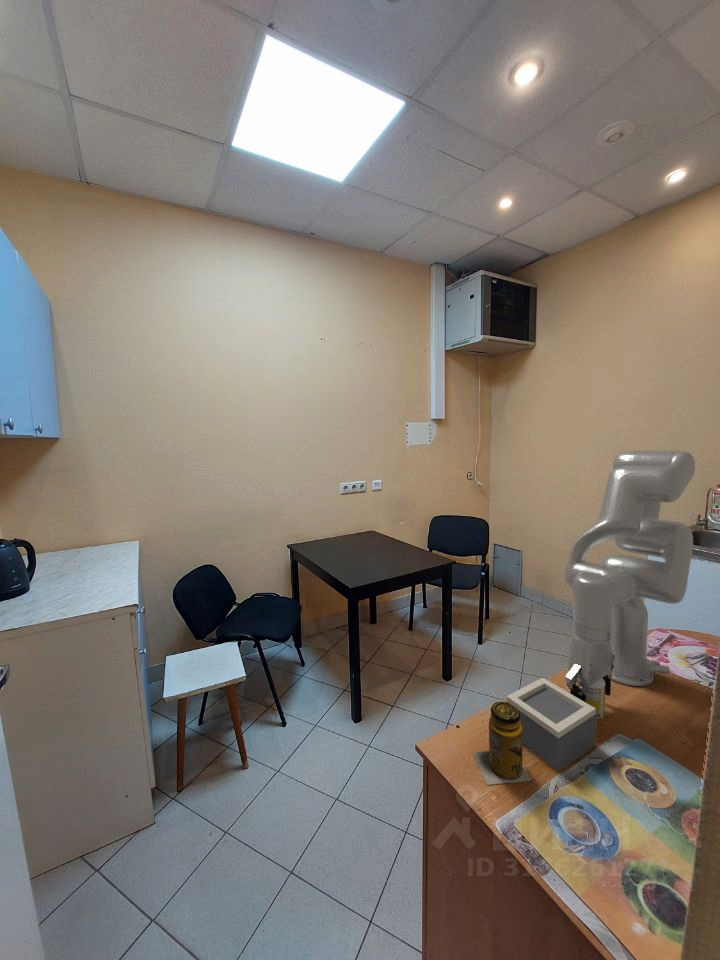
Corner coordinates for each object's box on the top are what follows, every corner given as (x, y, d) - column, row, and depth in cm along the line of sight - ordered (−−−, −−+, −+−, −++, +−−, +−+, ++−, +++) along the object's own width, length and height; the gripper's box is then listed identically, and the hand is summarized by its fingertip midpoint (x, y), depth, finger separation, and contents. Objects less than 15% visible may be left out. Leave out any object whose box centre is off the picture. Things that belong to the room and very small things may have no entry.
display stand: (542, 710, 88) (542, 677, 88) (594, 745, 78) (595, 708, 77) (506, 731, 83) (506, 696, 82) (558, 772, 72) (558, 732, 71)
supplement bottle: (590, 700, 91) (591, 660, 90) (610, 716, 85) (611, 674, 84) (570, 705, 89) (571, 665, 88) (590, 722, 84) (591, 679, 83)
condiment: (531, 780, 71) (531, 721, 70) (487, 785, 70) (486, 725, 69) (512, 749, 78) (512, 695, 77) (472, 753, 77) (472, 698, 76)
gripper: (597, 612, 93) (595, 678, 95) (552, 632, 85) (551, 704, 86) (630, 625, 86) (628, 695, 88) (585, 648, 78) (584, 725, 80)
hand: (590, 699), depth 87 cm, fingers open, 9 cm apart
